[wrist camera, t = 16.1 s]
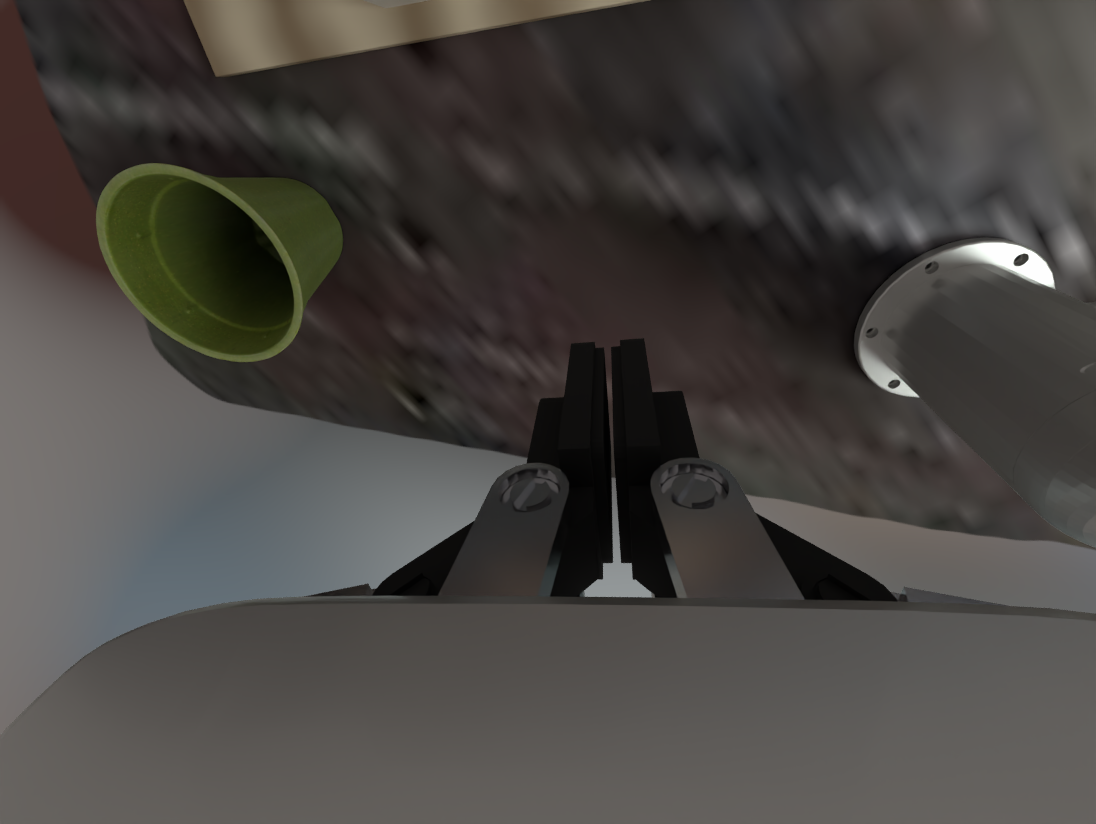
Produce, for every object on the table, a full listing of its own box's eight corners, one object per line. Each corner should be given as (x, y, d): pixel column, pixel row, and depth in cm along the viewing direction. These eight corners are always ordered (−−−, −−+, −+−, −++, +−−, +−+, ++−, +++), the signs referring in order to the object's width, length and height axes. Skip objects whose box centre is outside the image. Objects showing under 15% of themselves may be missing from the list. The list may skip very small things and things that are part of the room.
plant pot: (258, 299, 41) (157, 360, 32) (199, 143, 34) (50, 164, 25) (389, 302, 40) (324, 366, 31) (354, 142, 33) (258, 162, 24)
